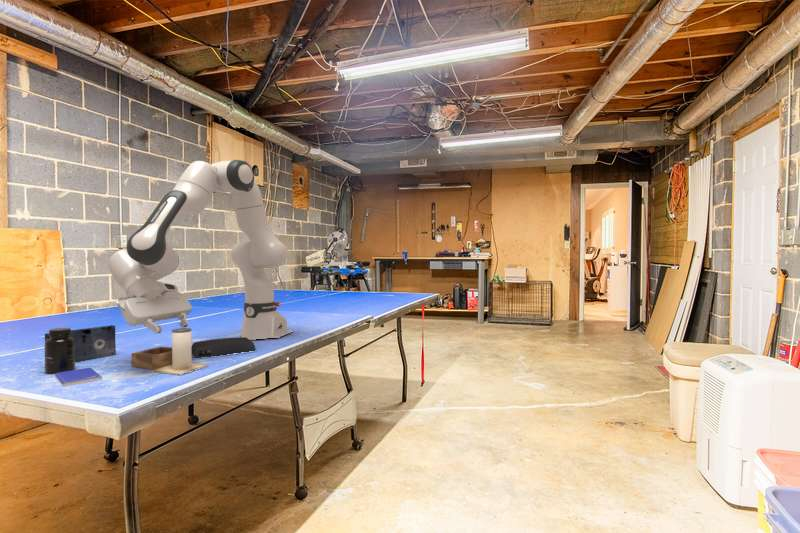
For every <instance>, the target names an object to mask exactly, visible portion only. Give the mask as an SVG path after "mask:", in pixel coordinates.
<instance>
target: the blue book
mask: <svg viewBox="0 0 800 533" xmlns="http://www.w3.org/2000/svg"><path fill="white" fill-rule="evenodd" d="M54 377H55V379H56V380H57V379H58V380H57V381H58V382H59V384H62V385H61V386H62V387H69V386H74V385H81V384H86V383H92V382H97V381H102V380H103V376H101V375H100V374H99V373H98V372H97V371H96V370H94V369H93V368H92V367H85V368H77V369H73V370H71V371H65V372H59V373H55V374H54Z"/></svg>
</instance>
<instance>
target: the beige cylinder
mask: <svg viewBox="0 0 800 533" xmlns="http://www.w3.org/2000/svg"><path fill="white" fill-rule="evenodd" d="M171 347H172V368H173V369H186V368H190V367H191V366H192V363H193V362H192V360H193V359H192V358H193V355H192V348H191V347H192V328H189V327H184V328H182V327H179V328H174V329H172V330H171Z"/></svg>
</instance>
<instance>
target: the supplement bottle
mask: <svg viewBox="0 0 800 533" xmlns="http://www.w3.org/2000/svg"><path fill="white" fill-rule="evenodd" d="M71 330H72V329H71V328H70V327H57V328H51V329H49V330H48V333H49V337H50V339H48V340H47V341H46V342H45V341H44V372H45V373H46V374H54V373H55V374H56V373H59V372H65V371H72V370H75V368H76V363H75V339H74V338H72V337H70V335H71ZM55 374H54V375H55Z"/></svg>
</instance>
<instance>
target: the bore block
mask: <svg viewBox="0 0 800 533" xmlns="http://www.w3.org/2000/svg"><path fill="white" fill-rule="evenodd" d="M169 365H172V346H171V347H169V346H162V345H161V346H156V347H153V348H148V349H145V350H139V351H135V352H132V353H131V368H139V369H145V370H146V369H148V370H155V369H158V368H162V367H165V366H169Z"/></svg>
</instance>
